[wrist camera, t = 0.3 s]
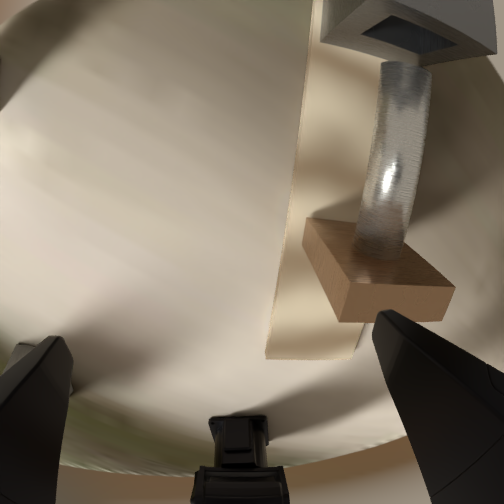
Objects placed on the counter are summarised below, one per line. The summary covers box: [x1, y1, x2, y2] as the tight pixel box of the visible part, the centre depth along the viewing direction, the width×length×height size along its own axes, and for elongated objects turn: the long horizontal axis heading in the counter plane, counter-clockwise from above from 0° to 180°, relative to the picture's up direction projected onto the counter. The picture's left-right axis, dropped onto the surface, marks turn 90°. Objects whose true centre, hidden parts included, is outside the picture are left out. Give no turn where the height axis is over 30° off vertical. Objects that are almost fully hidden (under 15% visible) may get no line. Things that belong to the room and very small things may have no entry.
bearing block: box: [320, 0, 497, 67], centre depth 11 cm, size 5×7×9 cm
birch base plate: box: [265, 0, 388, 360], centre depth 21 cm, size 30×8×1 cm, turn 174°
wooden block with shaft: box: [302, 61, 456, 323], centre depth 15 cm, size 12×6×9 cm, turn 174°
